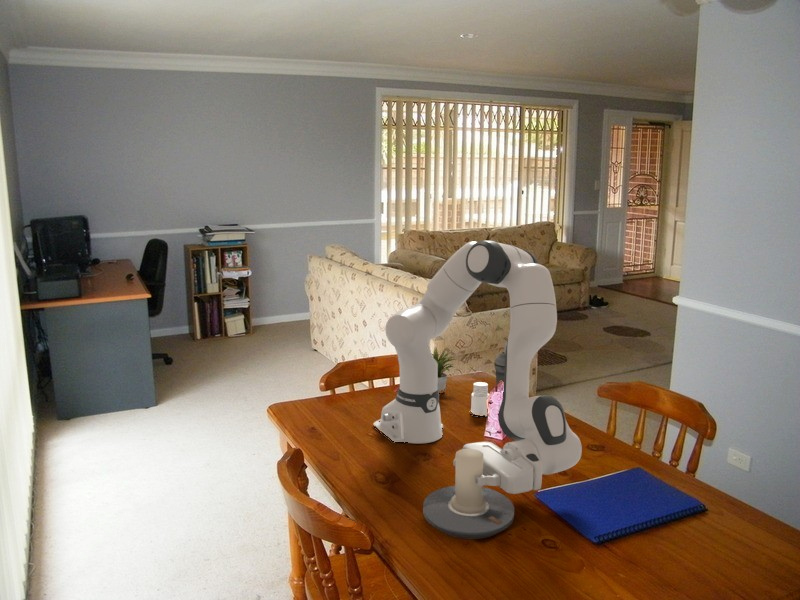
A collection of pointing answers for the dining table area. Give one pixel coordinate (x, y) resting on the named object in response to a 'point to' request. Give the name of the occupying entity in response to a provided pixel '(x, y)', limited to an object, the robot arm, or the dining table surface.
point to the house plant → (442, 368)
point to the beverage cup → (500, 366)
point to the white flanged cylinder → (468, 482)
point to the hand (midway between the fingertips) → (465, 472)
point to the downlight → (479, 398)
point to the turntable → (469, 525)
